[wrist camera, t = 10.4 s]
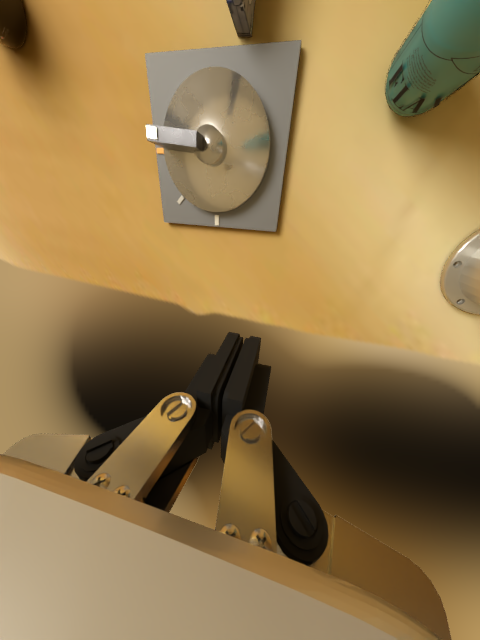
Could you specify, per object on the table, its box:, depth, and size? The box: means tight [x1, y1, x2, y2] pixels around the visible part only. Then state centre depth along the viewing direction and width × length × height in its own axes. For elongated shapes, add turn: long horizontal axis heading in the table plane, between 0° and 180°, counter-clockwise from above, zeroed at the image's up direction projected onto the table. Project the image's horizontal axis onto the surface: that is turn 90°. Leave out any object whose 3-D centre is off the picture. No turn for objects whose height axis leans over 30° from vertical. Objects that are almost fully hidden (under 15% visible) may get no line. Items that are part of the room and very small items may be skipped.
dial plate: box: [145, 40, 301, 232], centre depth 27 cm, size 18×18×1 cm
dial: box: [146, 67, 270, 212], centre depth 24 cm, size 14×14×5 cm
